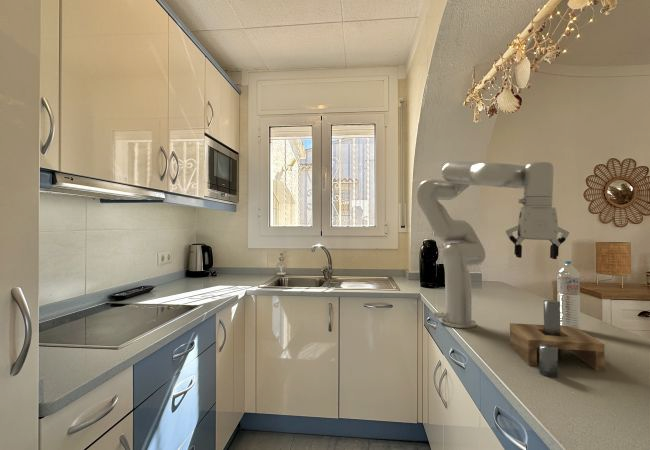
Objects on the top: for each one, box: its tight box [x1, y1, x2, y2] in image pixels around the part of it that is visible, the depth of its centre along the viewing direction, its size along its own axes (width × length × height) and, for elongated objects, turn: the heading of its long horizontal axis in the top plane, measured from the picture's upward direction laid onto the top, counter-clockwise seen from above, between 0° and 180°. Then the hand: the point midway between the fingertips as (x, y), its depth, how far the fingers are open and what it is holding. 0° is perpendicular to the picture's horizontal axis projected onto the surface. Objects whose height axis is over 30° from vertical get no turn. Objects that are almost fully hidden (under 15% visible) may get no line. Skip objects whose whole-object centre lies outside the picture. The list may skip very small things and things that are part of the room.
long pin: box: [543, 299, 562, 360], centre depth 99 cm, size 4×4×16 cm
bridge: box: [509, 323, 606, 372], centre depth 99 cm, size 18×16×7 cm
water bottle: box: [556, 260, 581, 330], centre depth 124 cm, size 7×7×25 cm
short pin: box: [538, 344, 559, 379], centre depth 87 cm, size 4×4×7 cm
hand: (535, 257), depth 106 cm, fingers open, 9 cm apart
